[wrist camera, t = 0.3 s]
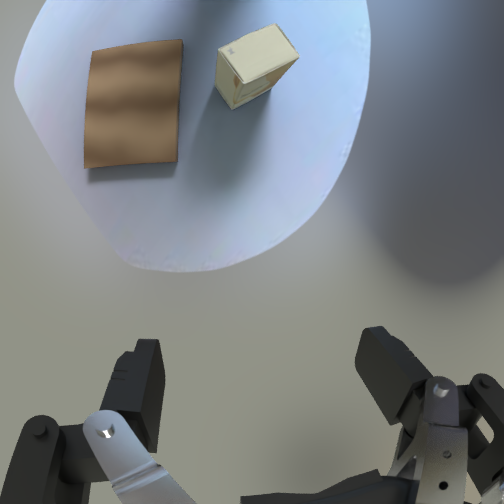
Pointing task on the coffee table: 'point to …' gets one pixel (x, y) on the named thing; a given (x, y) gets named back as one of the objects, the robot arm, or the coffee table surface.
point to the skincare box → (253, 64)
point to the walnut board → (133, 104)
